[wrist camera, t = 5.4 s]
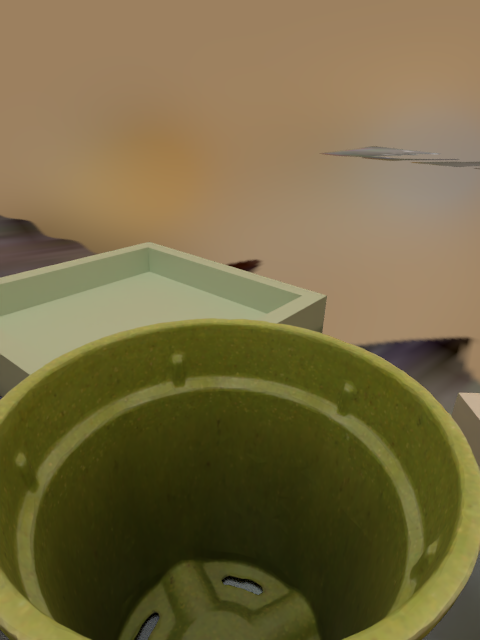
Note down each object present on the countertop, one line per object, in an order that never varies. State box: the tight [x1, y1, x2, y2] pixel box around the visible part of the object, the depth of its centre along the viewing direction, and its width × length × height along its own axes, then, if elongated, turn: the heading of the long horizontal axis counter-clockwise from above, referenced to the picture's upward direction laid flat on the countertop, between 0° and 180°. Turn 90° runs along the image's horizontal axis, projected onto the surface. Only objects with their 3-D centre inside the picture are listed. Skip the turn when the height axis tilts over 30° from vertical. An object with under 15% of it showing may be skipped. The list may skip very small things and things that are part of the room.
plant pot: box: [0, 318, 480, 640], centre depth 11 cm, size 9×9×9 cm
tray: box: [0, 242, 327, 397], centre depth 29 cm, size 18×18×3 cm
